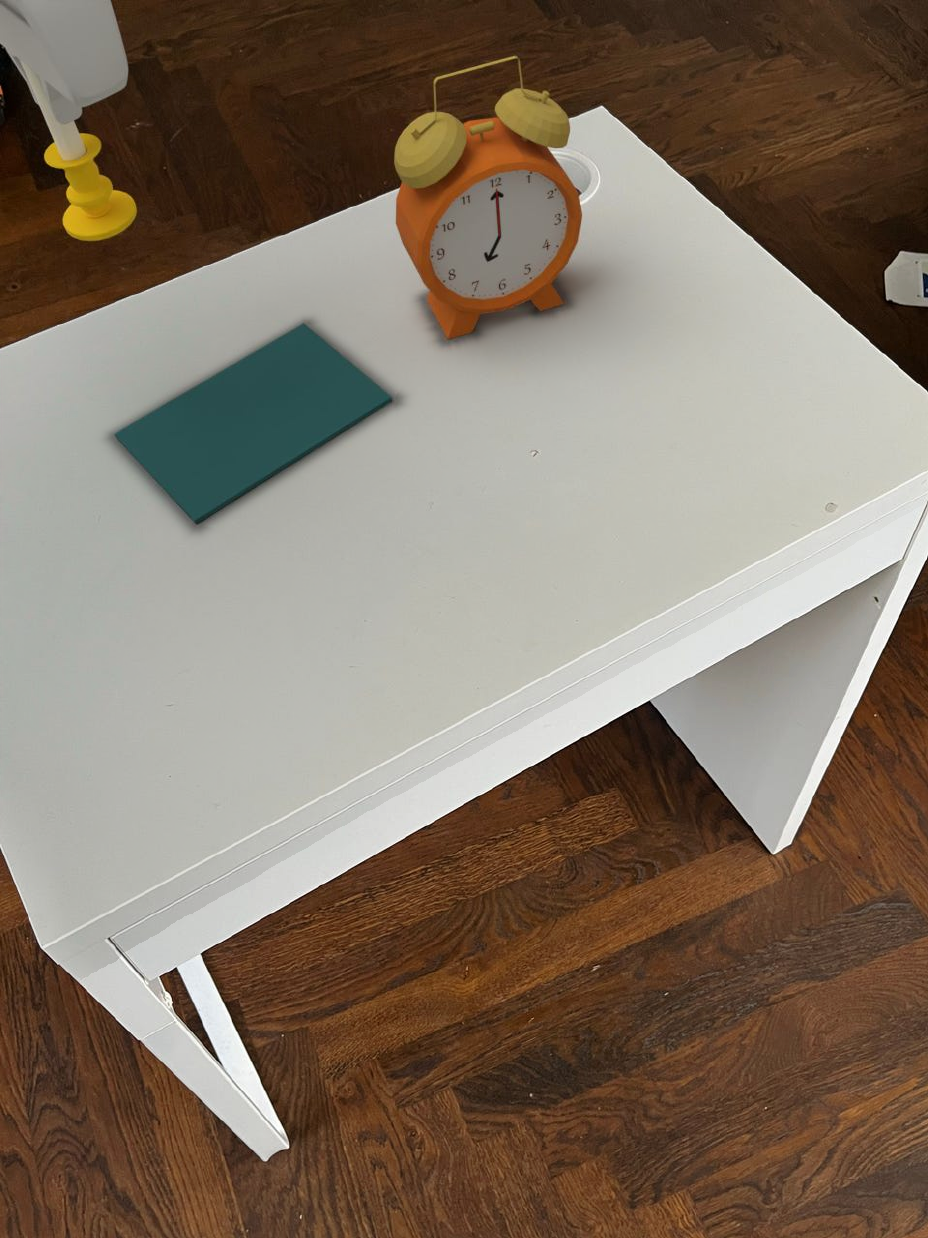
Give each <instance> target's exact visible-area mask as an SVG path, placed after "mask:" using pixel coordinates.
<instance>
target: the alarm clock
mask: <svg viewBox="0 0 928 1238" xmlns="http://www.w3.org/2000/svg"><path fill="white" fill-rule="evenodd" d="M515 59H517V64H518V71H519V72H518V73H519V81H520V88H514V89H512V90H510V91H508V92H506V93H503V95H502V96H501V98H499V99H498V101H497V103H496V104H495V107H494V112H495V114H496V117H490V118H482V119H481V118H479V119H473V120H468V121H466V122H463V123H462V121H460V120H459V119H458V118H456V117H455V116H454V115H452V114H450V113H448V112H444V111H437V90H436V89H437V88H436V86H437V85H436V84H437V82H438V81H439V80H443V79H446V78H450V77H453V76H457V75H461V74H465V73H468V72H472V71H475V70H479V69H482V68H486V67H491V66H493V65H498V64H500V63H505V62H508V61H511V60H515ZM521 66H522V65H521V60H520V58H519V57H518V56H517V55H513V56H509V57H504V58H501V59H497V60H495V61H490V62H486V63H483V64H480V65H475V66H472V67H468V68H465V69H462V70H458V71H453V72H450V73H447V74H442V75H440V76H436V77H435V78H434V80H433V102H434V104H433V105H434V111H432V112H426V113H424V114H422V115H420V116H418V117H417V118H416V119H414V120H413V121H411V122H410V123H409V124H408V125H407V126H406V128H405V129H404V130H403V131H402V133H401V135H400V136H399V137H398V140H397V142H396V145H395V147H394V158H393V159H394V161H393V163H394V168H395V171H396V174H397V175H398V177H399V179H400V181H401V184H400V187H399V189H398V192H397V195H396V199H395V201H396V202H395V225H396V228H397V231H398V233H399V236H400V240H401V243H402V245H403V247H404V249H405V251H406V252H407V254H408V256H409V258H410V260H411V262H412V264H413V266H414V268H415V270H416V271H417V273H418V275H419V277H420V279H421V281H422V282H423V284H424V286H425V287H426V288H427V289H428V290H429V291H428V294H427V297H426V301H427V303H428V305H429V307H430V309H431V310H432V312H433V314H434V316H435V319H436V320H437V322H438V324H439V326H440V328H441V330H442V332H443V333H444V335H445V338H446V339H447V340H452V339H454V338H457V337H461V336H463V335H468V334H471V333H473V331H474V329H475V327H476V324H477V322H478V320H479V318H480V316H481V315H483V314H491V313H497V312H503V311H508V310H510V309H512V308H515V307H517V306H519V305H522V304H523V303H526V302H528V301H531V303H532V304H533V305H534V306H535V307H536V309H538V311H539V312H542V311H546V310H549V309H552V308H556V307H559V306H561V305H564V301H563V300H562V298H561V297H560V295H559V294H558V292H557V290H556V289H555V288H554V285H553V282H554V281H555V280H556V278H557V277H558V276H559V275H560V274H561V273H562V272H563V270H564V269H565V267H566V266H568V264H569V262H570V259H571V257H572V256H573V253H574V251H575V249H576V247H577V245H578V242H579V238H580V231H581V226H582V219H583V211H582V206H581V201H580V196H579V195H580V194H579V191H578V189H577V188H576V186H575V185H574V183H573V181H572V180H571V179H570V177H569V175H568V174H567V172H566V171H565V170H564V168H563V167H562V165H561V164H560V163H559V161H558V160H557V159H556V156H554V154H553V153H552V152H551V150H550V149H549V148H552V149H563V148H565V147H566V146H567V145H568V142H569V138H570V133H571V123H570V119H569V116H568V114H567V113H566V112H565V110H564V109H563V108H561V106H560V105H559V104H558V103H557V102H556V101H554V100H553V99H551V98H550V97H549V96H550V93H549V91H547V90H543V91H542V93H541V92H538V91H536V90H531V89H527V88H524V83H523V75H522V67H521Z"/></svg>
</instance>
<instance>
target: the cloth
mask: <svg viewBox="0 0 928 1238" xmlns="http://www.w3.org/2000/svg"><path fill="white" fill-rule="evenodd" d="M390 402H393V397H392V396H391V395H390V394H388V393H387V392H386V391H385V390H384V389H383V388H381V387H380V386H379V385H378V384H377V383H375V381H373V380H372V379H371V378H370V377H368V376H367V375H366V374H365V373H364V372H363V371H361V370H360V369H359V368H358V367H357V366H356V365H354V364H353V363H352V362H351V361H350V360H348V359H347V358H346V357H345V356H344V355H342V354H341V352H339V351H338V350H337V349H335V348H334V347H333V346H332V345H330V344H329V343H328V342H327V341H326V340H325V339H323V338H322V337H321V336H320V335H319V334H317V333H316V332H315V331H314V330H313V329H312V328H310V327H309V326H308V325H307V324H306V323H304V322H303V323H301V324H299V325H298V326H296V327H294V328H293V329H291V330H289V331H287V332H286V333H284V334H283V335H281V336H279V337H277V338H275V339H274V340H272V341H270V342H269V343H267V344H266V345H263V346H262V347H260V348H259V349H257V350H255V351H254V352H252V353H250V354H248V355H247V356H245V357H243V358H241V359H239V360H238V361H236V362H235V363H233V364H231V365H229V366H228V367H225V368H224V369H222V370H221V371H219V372H218V373H216V374H213V376H211V377H209V378H207V379H205V380H204V381H202V382H201V383H199V384H196V385H195V386H194V387H192V388H190V389H189V390H186V391H185V392H183V393H181V394H180V395H178V396H176V397H175V398H173V399H171V400H170V401H168V402H166V403H165V404H162V405H161V406H159V407H158V408H156V409H154V410H153V411H150V412H149V413H147V414H146V415H144V416H142V417H140V418H139V419H137V420H135V421H133V422H132V423H130V424H129V425H127V426H125V427H123V428H121V429H120V430H118V431H117V432H114V436H115V439H117V440H118V442H120V444H122V446H123V447H124V448H125V449H126V450H127V452H129V453H130V454H131V456H132V457H133V458H134V459H135V460H136V461H137V462H138V463H139V464H140V466H142V468H144V470H145V471H146V472H147V473H148V474H149V475H150V476H151V477H152V478H153V479H154V480H155V481H156V483H157V484H158V485H159V486H160V487H161V488H162V489H163V490H164V491H165V492H166V494H168V496H169V497H170V498H171V499H172V500H173V501H174V502H175V503H176V504H177V505H178V507H180V509H181V510H182V511H183V512H184V513H185V514H186V515H187V516H188V517H189V519H191V520H192V522H193V523H194V524H195V525H196V524H198V523H200V522H202V521H204V520H205V519H206V518H208V517H209V516H211V515H213V514H214V513H216V512H218V511H219V510H221V509H222V508H224V507H226V506H227V505H228V504H230V503H232V502H233V501H235V500H236V499H238V498H240V497H241V496H243V495H245V494H247V492H250V491H251V490H252V489H255V487H257V486H259V485H261V484H262V483H263V482H265V481H267V480H268V479H270V478H271V477H273V476H274V475H275V476H276V475H277V474H278V473H279V472H281V471H283V470H284V469H286V468H288V467H289V466H291V465H292V464H294V463H296V462H297V461H298V460H300V459H302V458H303V457H305V456H306V455H308V454H310V453H311V452H313V451H314V450H316V449H318V448H319V447H321V446H322V445H324V444H326V443H327V442H329V441H330V440H332V439H333V438H335V437H338V435H340V434H342V433H343V432H345V431H347V430H348V429H349V428H351V427H352V426H354V425H356V424H357V423H359V422H360V421H362V420H364V419H365V418H367V417H369V416H370V415H371V414H373V413H374V412H376V411H378V410H380V409H381V408H383V407H384V406H386V405H388V404H389V403H390Z"/></svg>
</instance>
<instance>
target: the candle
mask: <svg viewBox="0 0 928 1238" xmlns="http://www.w3.org/2000/svg"><path fill="white" fill-rule="evenodd" d="M20 61H21V60H20ZM21 64H22V66H23V68H24V71H25V73H26V75H27V78H28V80H29V82H30V85H31V87H32V89H33V92H34V94H35V97H36V99H37V101H38V104H39V105H38V104H37V105H38V106H39V108H40V110H41V113H42V115H43V117H44V120H45V123H46V125H47V127H48V129H49V132H50V134H51V136H52V137H51V138H52V139H53V143H51V144H50V145H49V146H48V147H47V149H45V150H44V151H45V152H44V154H43V159H44V161H45V163H46V164H47V165H48V166H50V167H51V168H55V169H60V170H61V169H62V170H63V171H64V175H65V179H66V180H67V182H68V183H69V186H68V187H67V189H66V192H65V195H66V198H67V201H68V203H70V205H69V206H68V207H67V209H66V210H65V211H64V213H63V216H62V225H63V227H64V229H65V231H66V233H67V234H68V235H69V236H71V237H72V238H73V239H77V240H79V241H86V242H96V241H102V240H106V239H110V238H112V237H115V236H117V235H119V234H120V233H122V232H124V231H125V230H126V229H127V228H129V227H130V226H131V225H132V223H133V222H134V221H135V219H136V216H137V213H138V209H137V204H136V202H135V200H134V198H133V197H132V196H131V195H130V194H128V193H127V192H124V191H121V190H118V189H117V190H116V189H114V186H113V182H112V181H111V179H110V178H109V177H107V176H105V175H103V174H100V171H99V167H98V165H97V164H96V162H95V161H94V158H96V157H97V156H98V155H99V153H100V152H101V149H102V142H101V139H99V138H98V137H97V136H96V135H94V134H91V133H83V132H82V133H80V132H79V129H78V128H77V125H76V122H75V120H73V121H71V122H69V123H67V124H60V123H59V122H58V121H57V120H56V119H55V117H54V114H53V112H52V110H51V107H50V105H49V103H48V100H47V98H46V96H45V94H44V91H43V87H42V84H41V80H40V77H38V76H37V75H36V74H35V72H34V71H33V70H32V69H31V68H29V67H28V66H27V65H26V64H25V63H23V62H22V61H21Z"/></svg>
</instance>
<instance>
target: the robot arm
mask: <svg viewBox="0 0 928 1238" xmlns="http://www.w3.org/2000/svg"><path fill="white" fill-rule="evenodd" d="M0 45H1V46H3V47H4V48H5V51H6V53H7V54H8V56H9V57H10V59H11V60H12V62H13V64H14V65H15V67H17V70H18V72H19V73H20V75H21V76H22V77H23V79H24V80H25V82H26V84H27V86H28V88H29V92H30V93H31V96H32V98H33V100H34V102H35V103H36V104H37V105H38V106H39V104H38V101H37V99H36V97H35V94H34V92H33V89H32V87H31V85H30V82H29V80H28V78H27V75H26V73H25V71H24V68H23V66H22V64H21V61H22V62H23V63H25V64H26V65H27V66H28V67H29V68H31V69H32V70H33V71H34V72H35V74H36V75H37V76H38V77H40V80H41V84H42V87H43V91H44V94H45V96H46V98H47V100H48V103H49V105H50V107H51V110H52V112H53V114H54V117H55V119H56V120H57V121H58V122H59V123H60V124H67V123H69V122H71V121H73V120H74V121H75V120H78V119H80V117H82V114H83V108H86V107H88V106H91V105H93V104H95V103H98V102H101V101H102V100H104V99H106V98H108V97H110V96H112V95H114V94H116V93H118V92H121V91H122V90H123V89H124V88H125V87H126V86H127V82H128V77H129V64H128V59H127V54H126V50H125V46H124V42H123V39H122V35H121V32H120V28H119V25H118V21H117V17H116V14H115V11H114V8H113V4H112V1H111V0H0ZM20 60H21V61H20Z"/></svg>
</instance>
